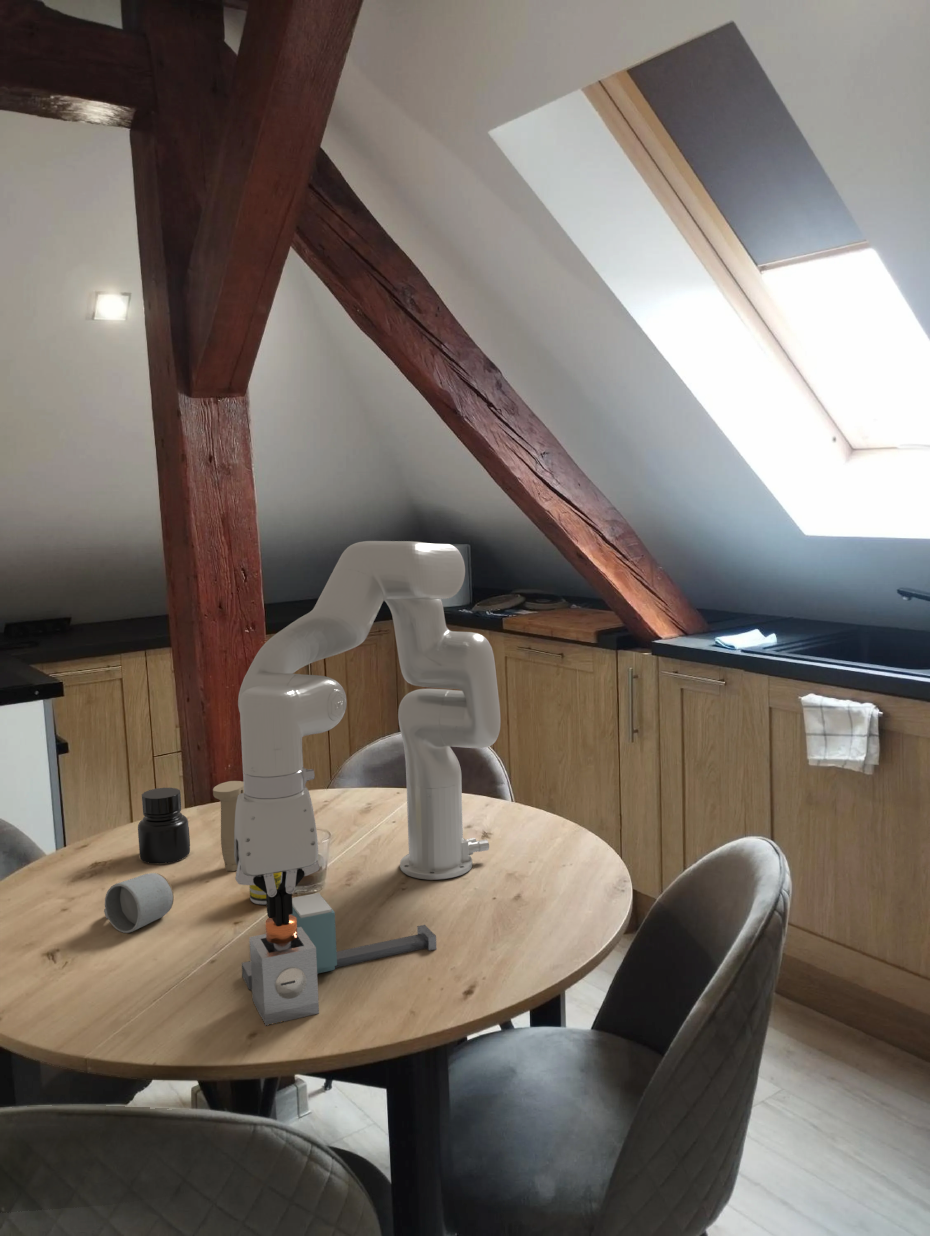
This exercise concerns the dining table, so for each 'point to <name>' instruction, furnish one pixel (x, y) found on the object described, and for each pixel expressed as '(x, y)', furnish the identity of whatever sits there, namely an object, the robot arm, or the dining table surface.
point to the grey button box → (284, 978)
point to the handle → (228, 818)
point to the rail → (372, 951)
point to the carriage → (318, 928)
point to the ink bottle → (163, 827)
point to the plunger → (281, 933)
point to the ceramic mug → (138, 901)
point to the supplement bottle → (258, 894)
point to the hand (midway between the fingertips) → (280, 921)
